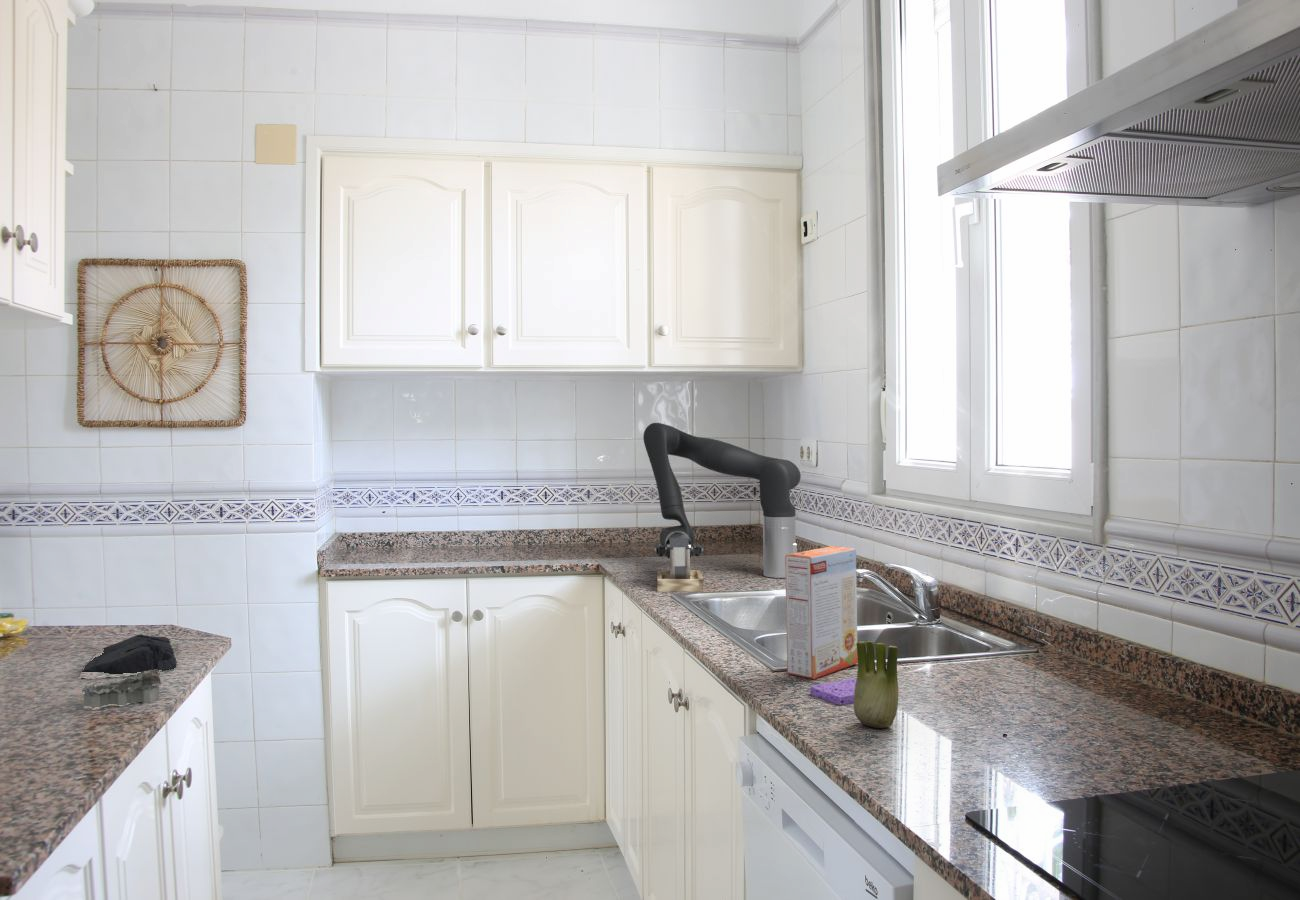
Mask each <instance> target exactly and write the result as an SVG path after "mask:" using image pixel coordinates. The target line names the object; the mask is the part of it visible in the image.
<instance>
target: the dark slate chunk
mask: <svg viewBox="0 0 1300 900" xmlns="http://www.w3.org/2000/svg"><path fill="white" fill-rule="evenodd" d="M172 647H173V646H172V644H171V640H170V638H169V637H166V636H156V635H155V636H154V635H146V634H137V635H134V636H131V637H129V638H127V639H124V640H121V641H119V642H117V643H114V644H113V643H112V644H111V645H108V646H106V647H103V648H102V649H104V651H103V652H104V653H102V655H100V656H98V657H95V658H94V659H93V660H92V659H91V660H92V661H90V660H89V661H90V662H89V661H88V662H89V663H88V662H87V663H88V664H87V663H86V664H87V665H86V664H85V665H86V666H85V665H84V667H85V668H84V667H83V668H84V670H83V669H82V670H81V672H104V673H109V674H123V673H137V672H143V671H149V670H156V669H159V670H168V671H170V670H169V669H173V670H175V669H177V663H178V662H177V659H176V657H175V655H174V654H175V651H174V648H172ZM174 668H175V669H174Z"/></svg>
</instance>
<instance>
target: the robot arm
mask: <svg viewBox="0 0 1300 900" xmlns="http://www.w3.org/2000/svg"><path fill="white" fill-rule="evenodd" d="M642 438H643V444H644V447H645V451H646V453H647V456H648V459H649V463H650V466H651V469H652V472H653V476H654V480H655V483H656V487H657V488H656V489H657V493H658V499H659V505H660V506H659V507H660V512H661V516H662V518H663V519H664V520H668V521H677V522H678V523H679V524H680V525H674V526H668V527H664V528H662V529H661V530H660V533H659V542H660V544H658V543H655V544H654V549H653V552H654V555H656V556H658V557H663V556H664V557H666V558H667V559H670V535H688V537H689V550H690V559H692V558H693V557H694V556H695V557H700V556H702V555H703V554H704V544H702V543H699V544H696V545H695V546H694V544H695V539H696V537H695V533H694V530H693V528H692V527H691V524H690V522H689V520H688V518H687V515H686V512H685V506H684V500H683V495H682V490H681V488H680V485H679V482H678V480H677V477H676V475H675V474H674V471H673V469H672V467H671V463H670V459H669V455H670V456H673V457H674V456H675V457H680V458H684V459H687V460H689V461H692V462H694V463H696V464H697V465H698V466H701V467H703V468H704V469H707V470H710V471H712V472H716V473H720V474H722V475H727V476H734V477H741V478H748V479H749V478H750V479H754V480H757V481H759V500H760V506H761V508H762V522H763V523H762V528H763V529H762V539H763V540H762V544H763V545H762V548H763V550H762V551H763V553H762V557H763V559H762V561H763V563H762V565H763V566H762V567H763V568H762V570H763V572H762V573H763V576H764V577H767V578H776V579H777V578H778V579H781V578H782V579H784V578H785V555H787V554H792V553H798V543H797V541H796V540H797V539H796V536H797V535H796V533H797V532H796V525H797V524H796V518H797V517H796V506H795V505H794V504H793V503H792V501H791V498H790V491H791V490H793V489H794V488H796V487H797V486H798V485H799V483H800V481H801V478H802V477H801V471H800V469H799V468H798V466H797V465H796V464H795V463H794V462H792V461H791V460H788V459H781V458H774V457H770V456H765V455H762V454H759V453H756V452H753V451H750V450H748V449H745V448H742V447H740V446H736V445H735V444H731V443H728V442H726V441H722V440H720V439H714V438H709V437H702V436H701V437H700V436H695V435H691V434H689V433H687V432H684V431H683V430H681V429H677V428H676V427H675V426H674V427H673V426H672V425H668V424H664V423H660V422H652V423H650V424H649V425H647V426H646V428H645V429H644V432H643V436H642ZM785 579H786V578H785Z"/></svg>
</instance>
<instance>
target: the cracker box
mask: <svg viewBox="0 0 1300 900" xmlns="http://www.w3.org/2000/svg"><path fill="white" fill-rule="evenodd" d="M857 601H858V600H857V548H852V547H842V546H837V545H836V546H834V545H833V546H827V547H825V546H824V547H821V548H814V549H810V550H805V551H799V552H798V551H797V553H792V554H787V555H785V610H786V611H785V615H786V618H785V620H786V621H785V622H786V625H785V626H786V664H787V666H786V670H787V671H786V672H787V674H788V675H792V676H797V677H801V678H806V679H811V680H815V679H818V678H821V677H823V676H826V675H829V674H832V673H834V672H837V671H840V670H843V669H846V668H848V667H851V666H854V665H858V659H857V658H858V656H857V645H856V643H857V642H858V607H857V606H858V605H857V604H858V602H857Z"/></svg>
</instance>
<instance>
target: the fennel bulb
mask: <svg viewBox="0 0 1300 900" xmlns="http://www.w3.org/2000/svg"><path fill="white" fill-rule="evenodd" d="M856 645H857V659H858V663H857V672H856V678H857V679H856V685H855V691H854V702H853V712H854V715H855V717H856V718H857V720H858V721H859V722H860V723H861V724H863V725H864V726H868V727H871V728H875V729H882V728H883V729H884V728H889V727H892V726H893V723H894V720H895V718H896V716H897V713H898V712H897V711H898V706H899V681H898V655H899V654H898V653H899V652H898V651H899V647H898V646H895V645H889V646H888V649H886V648H887V647H886V643H882V642H877V643H875V646H874V641H868V640H867V641H857V643H856ZM887 650H888V651H887ZM886 651H887V652H886ZM886 653H887V655H886ZM886 656H887V657H886ZM875 659H876V661H875Z"/></svg>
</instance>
